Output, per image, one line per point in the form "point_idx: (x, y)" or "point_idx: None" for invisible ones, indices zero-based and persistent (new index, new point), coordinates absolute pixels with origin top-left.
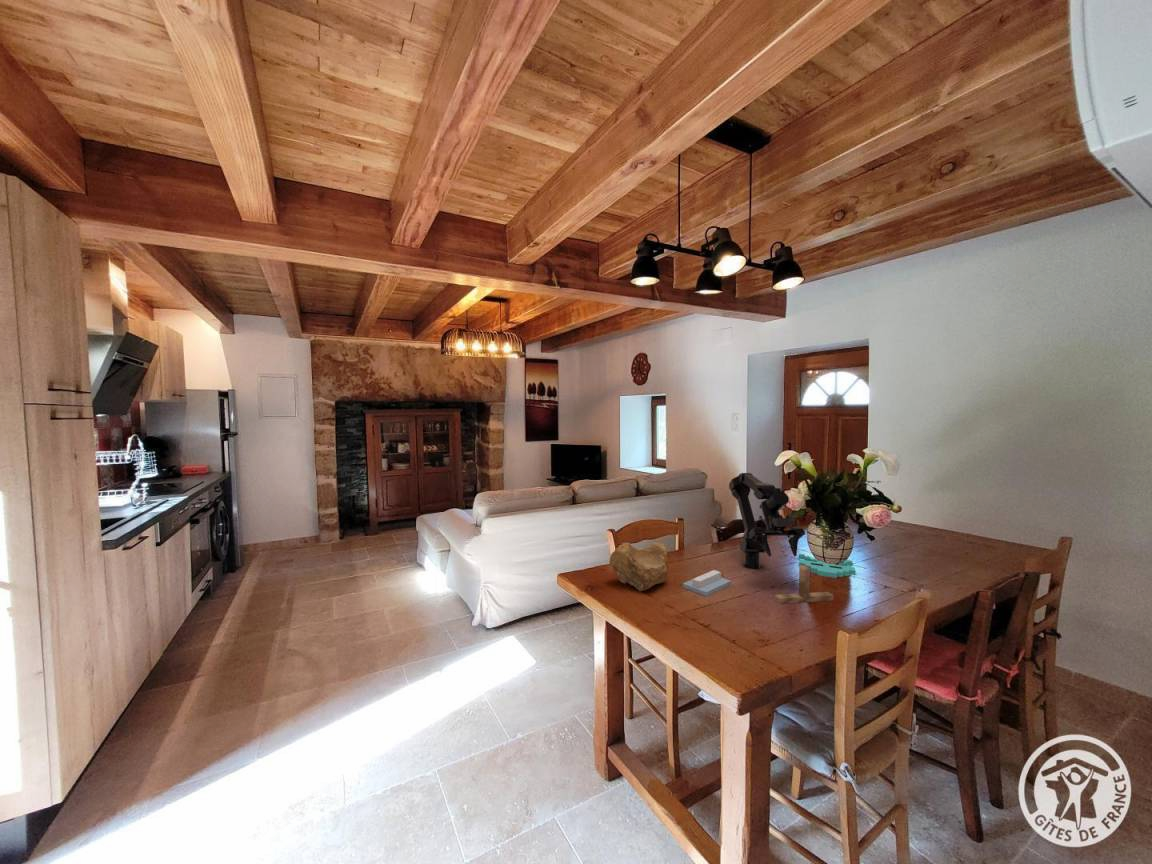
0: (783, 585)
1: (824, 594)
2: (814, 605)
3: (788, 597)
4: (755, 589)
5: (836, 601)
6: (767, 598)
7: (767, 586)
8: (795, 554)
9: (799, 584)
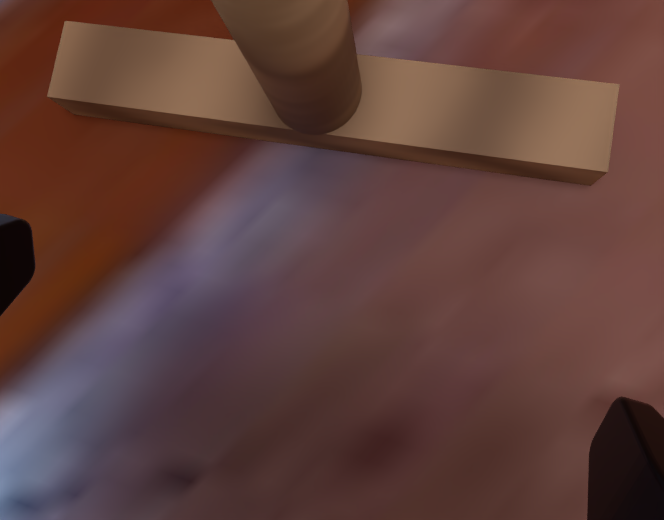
0: (241, 438)
1: (122, 54)
2: None
3: (507, 83)
4: None
5: None
6: (633, 231)
7: (421, 474)
8: (9, 220)
9: (350, 50)
